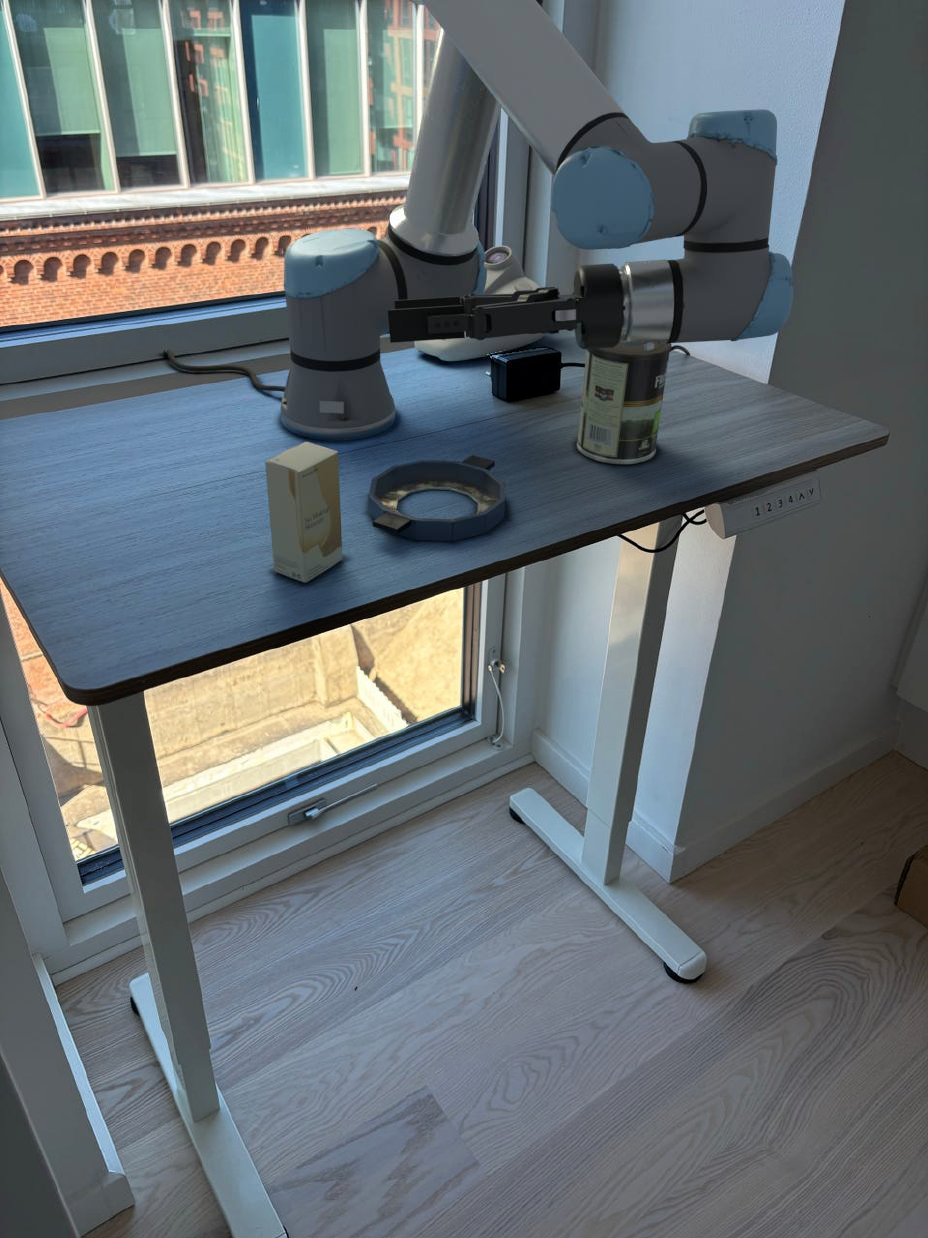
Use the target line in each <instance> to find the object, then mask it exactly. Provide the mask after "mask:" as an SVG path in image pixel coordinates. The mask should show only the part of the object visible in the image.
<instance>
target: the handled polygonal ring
mask: <svg viewBox="0 0 928 1238" xmlns="http://www.w3.org/2000/svg"><path fill="white" fill-rule="evenodd" d="M495 467H496V461H495V460H492V459H489V458H486V457H481V456H478V455H475V454H471V455H470V456H468V457H467V458H465V459H463V460H462V461H459V460H443V459H442V460H439V459H438V460H437V459H421V460H416V461H411V462H406V463H401V464H397V465H392V466H391V467H389V468H387V469H386V470H384V471H382V472H380V473H379V474H377V475H376V476H374V477H373V478H372V479H371V482H370V487H369V490H368V515H370V517H372V518H373V519H374V520H373V521H372V527H373V528H376V529H378V530H381V531H384V532H387V533H390V534H393V535H396V536H398V535H400V536H403V537H404V538H405V537H406V538H408V539H411V540H415V541H433V542H434V541H437V542H456V541H459V540H463V539H467V538H471V537H477V536H480V535H484V534H486V533H488V532H489V531H490V530H491V529H493V528H494V527H496V526H497V525H498V524H499V523H500V522H502V521H503V520H504V519H505V512H506V511H505V509H506V508H505V507H506V484H505V482H504V481H502V479H500V478H499V477H497V476H496V475H495V474H494V473H492V472H491V471H490V470H493V468H495ZM427 490H440V491H441V490H442V491H452V492H455V493H458V494H462V495H465V496H468V497H469V498H470V499H471V500H472V501H473V502H475V503H476V504H477V512H476V513H473V514H469V515H465V516H460V517H455V518H452V519H450V518H428V517H427V518H424V517H414V516H412V515H409V514H405V513H403V512H401V511H400V512H399V510H398V503H399V501H401V500H402V499H404V498H406V497H407V496H409V495H410V494H413V493H418V492H423V491H427Z"/></svg>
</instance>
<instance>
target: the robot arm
mask: <svg viewBox="0 0 928 1238" xmlns="http://www.w3.org/2000/svg"><path fill="white" fill-rule="evenodd" d="M408 1H409V2H411V3H412V4H415V5H419V6H425V8H426V9H427V10H428V12H429V13H430V14H431V15H432V16H433V18H434V19H435V21H436V23H438V25H439V30H438V35H437V41H436V45H435V50H434V55H433V60H432V65H431V69H430V70H431V71H430V74H429V75H430V76H429V79H428V84H427V91H426V95H425V101H424V105H423V110H422V116H421V120H420V125H419V130H418V134H417V135H418V136H417V141H416V146H415V152H414V155H413V161H412V165H411V166H412V167H411V171H410V176H409V181H408V186H407V192H406V196H405V202H404V203H402V204H400V205H398V206H397V207H395V208H394V209H393V210H392V211H391V213H390V215H389V220H388V224H387V231H386V235H385V237H384V238H377V236H376V234H374V233H373V232H371V231H369V230H366V229H362V228H353V227H348V228H347V227H346V228H342V229H336V228H333V229H326V230H322V231H321V230H320V231H317V232H313V233H310V234H307V235H305V236H303V237H300V238H299V239H297V240H295V241H294V242H293V243H291V245H290V246H289V247H288V248H287V251H286V252H285V254H284V260H283V261H284V264H283V281H282V282H283V284H282V286H283V290H284V292H285V306H286V319H287V331H288V344H289V353H290V366H289V370H288V375H287V379H286V382H285V386H284V385H267V384H262V383H260V382H259V380H258V378H257V377H258V376H257V375H256V373H255V372H254V371H253V370H252V369H250V368H248V367H246V366H242V365H236V364H215V365H214V364H213V365H189V364H184V363H181V362H180V361H178V360H177V359H176V357H175V355H174V353H173V351H172V350H171V349H170V350H167V353H166V352H165V349H164V350H163V352H162V354H161V356H163V357H167V358H169V361H170V362H171V363H172V365H174V366H175V367H176V368H177V369H180V370H181V371H182V370H184V371H189V372H215V371H216V372H217V371H236V372H241V373H245V374H248V375H249V376H250V378H251V382H252V384H253V385H254V387H256V388H257V389H258V390H261V391H266V392H282V393H283V396H282V399H281V402H280V417H281V418H280V419H281V424H282V425H283V426H284V427H285V428H286V429H287V430H288V431H290V432H291V433H293V434H296V435H298V436H301V437H303V438H309V439H313V440H319V441H353V440H359V439H364V438H368V437H372V436H375V435H378V434H380V433H383V432H384V431H386V430H387V429H389V428H390V427H391V426H392V425H394V423H395V420H396V403H395V400H394V398H393V396H392V393H391V392H390V388H389V384H388V380H387V377H386V375H385V372H384V368H383V365H382V362H381V336H384V335H389V343H391V344H393V343H394V344H395V343H407V342H408V343H409V342H414V341H426V340H442V339H457V338H465V332H466V337H469V338H471V339H472V338H474V339H477V340H484V339H485V338H493V337H502V336H511V335H520V334H537V333H542V334H546V335H554V334H560V331H567V332H573V331H574V335H575V341H576V343H577V345H578V348H580V349H582V350H587V349H599V348H614V347H615V346H616V345H618V343H619V341H620V340H621V341H622V343H623V344H624V345H625V346H637V345H643V344H644V349H645V351H646V352H648V351H653V350H654V345H655V342H657V343H659V344H663V343H665V344H668V343H671V344H683V343H701V342H702V343H703V342H721V341H723V342H724V341H730V342H738V341H740V340H741V341H742V340H749V339H756V338H757V339H758V338H764V337H769V336H770V337H771V336H773V335H775V334H777V333H779V332H780V331H782V329H784V326H785V325H786V324H787V321H788V320H789V318H790V314H791V311H792V307H793V300H794V287H793V277H794V276H793V275H794V274H793V269H792V266H791V263H790V261H789V259H788V258H787V256H785V255H784V254H783V253H780V252H773V251H771V250H770V244H769V240H770V238H769V237H770V231H771V221H772V220H771V218H772V208H773V199H774V190H775V189H774V188H775V178H776V171H777V170H776V169H777V165H778V156H777V140H778V138H777V137H778V120H777V117H776V115H775V113H773V112H772V111H770V109H769V110H768V109H763V108H762V109H758V108H757V109H738V110H736V109H735V110H725V111H724V110H720V111H707V112H699V113H696V114H695V115H693V117H692V118H691V120H690V122H689V125H688V126H689V127H688V132H687V133H688V134H687V137H686V138H685V139H677V140H673V141H672V140H671V141H660V142H653V141H649V140H648V139H647V138H646V136H645V135H644V134H643V133H642V131H641V130H640V129H639V128H638V126H637V125H636V124H635V123H634V122H633V121H632V120H631V118H630V117H629V116H628V115H627V113H626V112H625V111H624V110H623V108H622V107H621V106H620V105H619V103H618V102H617V100H616V99H615V98H614V97H613V96H612V95H611V93H610V92H609V91H608V89H607V88H606V87H605V86H604V84H603V83H602V82H601V81H600V79H599V78H598V76H596V73H594V71H593V70H592V69H591V68H590V67H589V66H588V64H587V63H586V62H585V61H584V59H583V57H582V56H581V55H580V54H579V53H578V51H577V50H576V49H575V48H574V46H573V45H572V44H571V43H570V41H569V40H568V39H567V37H566V36H565V35H564V34H563V32H562V31H561V30H560V29H559V27H558V26H557V25H556V23H554V21H553V20H552V19H551V18H550V16H549V15H548V13H547V12H546V11H545V10H544V9H543V7H542V6H543V2H544V0H408ZM501 109H502V110H503V112H504V113H505V114H506V115H507V117H508V118H509V120H510V121H511V122H512V123H513V125H514V126H515V127H516V129H517V130H518V132H519V133H520V134H521V135H522V137H523V138H524V139H525V141H526V142H527V144H528V145H529V146H530V147H531V149H532V150H533V151H534V153H535V154H536V156H537V157H538V158H539V159H540V161H541V162H542V164H543V165H544V166H545V167H546V169H547V171H548V172H549V173H550V174H551V175H552V177H553V180H552V184H551V190H550V206H551V211H552V212H554V214H555V218H556V219H555V220H556V223H555V225H556V227H557V229H558V231H559V233H560V235H561V236H562V237H563V238H564V239H565V240H566V241H567V242H568V243H569V244H571V245H572V246H574V247H576V248H578V249H582V250H587V251H591V250H592V251H593V250H614V249H616V250H620V249H626V248H631V246H632V245H637V244H643V243H644V244H645V243H648V242H654V241H659V240H664V239H672V238H678V237H679V238H680V237H683V247H682V248H683V249H684V252H683V258H678V259H677V258H676V259H653V260H652V259H651V260H633V261H624V263H622V264H621V266H620V268H619V267H618V266H617V265H615V264H614V263H612V262H611V263H598V264H597V263H596V264H584V265H579V266H578V267H577V268H576V271H575V273H574V277H573V292H572V294H561V291H559V288H558V287H556V286H541V288H537V289H536V290H522V291H516V292H514V294H487V295H483V293H484V289H485V286H486V280H487V268H484V262H485V261H486V257H485V250H484V247H483V245H482V244H481V241H480V236H479V232H478V230H477V228H476V226H475V225H474V223H473V222H472V221H473V216H474V212H475V208H476V205H477V200H478V196H479V194H480V188H481V185H482V182H483V181H482V180H483V177H484V174H485V170H486V166H487V161H488V157H489V153H490V150H491V146H492V142H493V139H494V136H495V135H494V134H495V131H496V127H497V122H498V119H499V116H500V111H501Z"/></svg>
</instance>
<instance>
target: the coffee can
mask: <svg viewBox="0 0 928 1238" xmlns="http://www.w3.org/2000/svg"><path fill="white" fill-rule="evenodd" d="M672 344H673V343H668V344H665V343H663V344H659V343H657V342H655V345H654V350H653V351H648V352H646V351H645V349H644V344H643V345H637V346H625V345H624V344H623V343H622V341H621V340H620V341H619V343H618V345H616V346H615V347H614V348H599V349H586V353H585V363H584V371H583V372H584V373H583V381H582V382H583V383H582V391H581V392H582V393H581V402H580V403H581V404H580V413H579V414H580V415H579V423H578V424H579V426H578V434H577V435H578V436H577V442H576V447H577V451H579V452H580V454H582V456H583V455H584V456H585V457H587V458H589V459H592V460H593V461H596V462H600V463H605V464H612V465H635V464H640V463H645V462H646V461H649V460H651V459H652V458H653V457H654V456H655V455H656V452H657V448H656V447H657V441H658V432H659V425H660V420H661V412H662V407H663V401H664V400H663V399H664V394H665V387H666V379H667V371H668V365H669V359H670V354H671V351H672V346H673V345H672Z"/></svg>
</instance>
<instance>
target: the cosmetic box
mask: <svg viewBox="0 0 928 1238" xmlns="http://www.w3.org/2000/svg"><path fill="white" fill-rule="evenodd" d="M264 463H265V464H264V465H265V476H266V488H267V497H268V498H267V500H268V511H269V513H268V515H269V526H270V527H269V528H270V538H271V551H272V562H273V572H276V573H278V574H279V575H283V576H286V577H288V578H290V579H293V580H295V581H299V582H302V583H304V584H305V583H308V582H310V581H312V580H313V579H314V578H316V577H318V576H320V575H321V574H323V573H324V572H325V571H327V570H328V569H330V568H332V567H333V566H336V564H338V563H339V562H341V561H342V560H343V542H342V541H343V540H342V512H341V491H340V490H341V489H340V487H341V486H340V464H339V463H340V461H339V451H338V450H334V449H331V448H329V447H326V446H322V445H320V444H316V443H313V442H310V441H304V442H302V443H300V444H298V445H296V446H293V447H292V448H288V449H286V450H284V451H282V452H281V453H279V454H277V455H275V456H273V457H270V458H269V459H265V462H264Z"/></svg>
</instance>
